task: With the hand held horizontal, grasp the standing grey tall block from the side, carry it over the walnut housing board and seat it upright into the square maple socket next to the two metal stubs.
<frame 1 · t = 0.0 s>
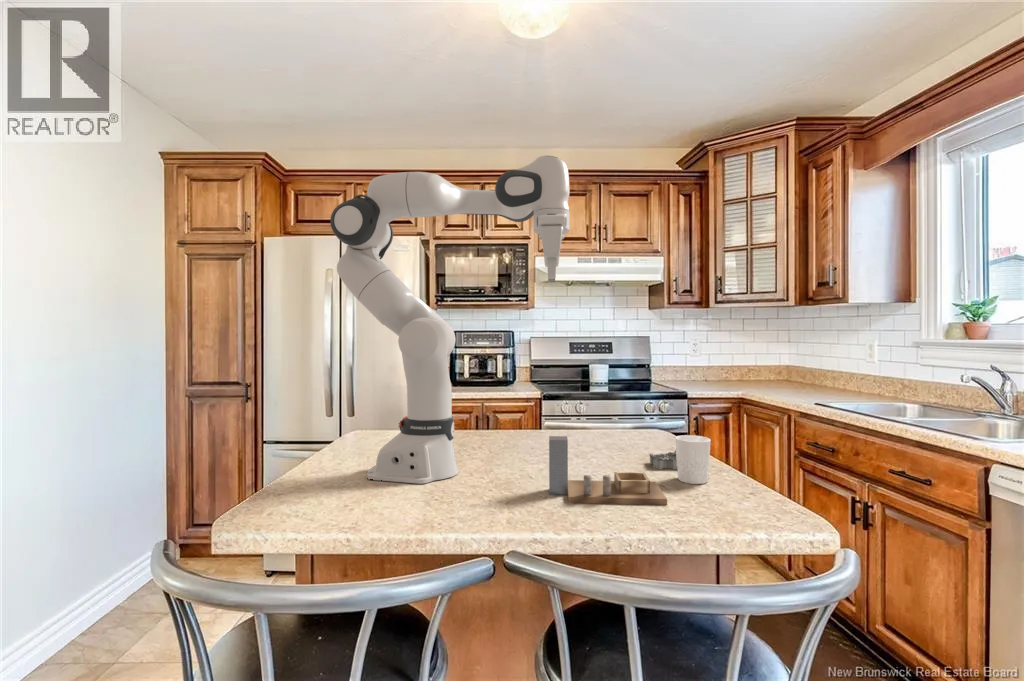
hand: (551, 281, 125), 48 cm above the countertop, tool pointing down, fingers open, 8 cm apart
white cup: (692, 481, 121), on the countertop
grey tall block: (558, 492, 112), on the countertop
housing: (613, 494, 110), on the countertop
egg carton: (671, 467, 134), on the countertop
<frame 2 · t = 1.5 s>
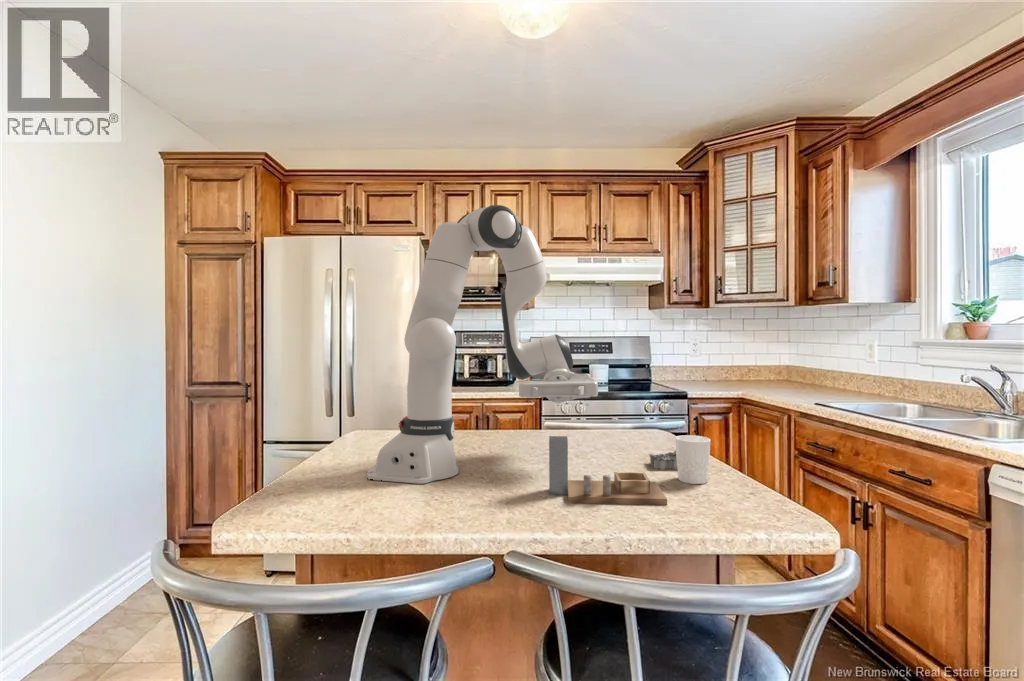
hand: (558, 392, 124), 21 cm above the countertop, tool horizontal, fingers open, 8 cm apart
nothing on the countertop moved.
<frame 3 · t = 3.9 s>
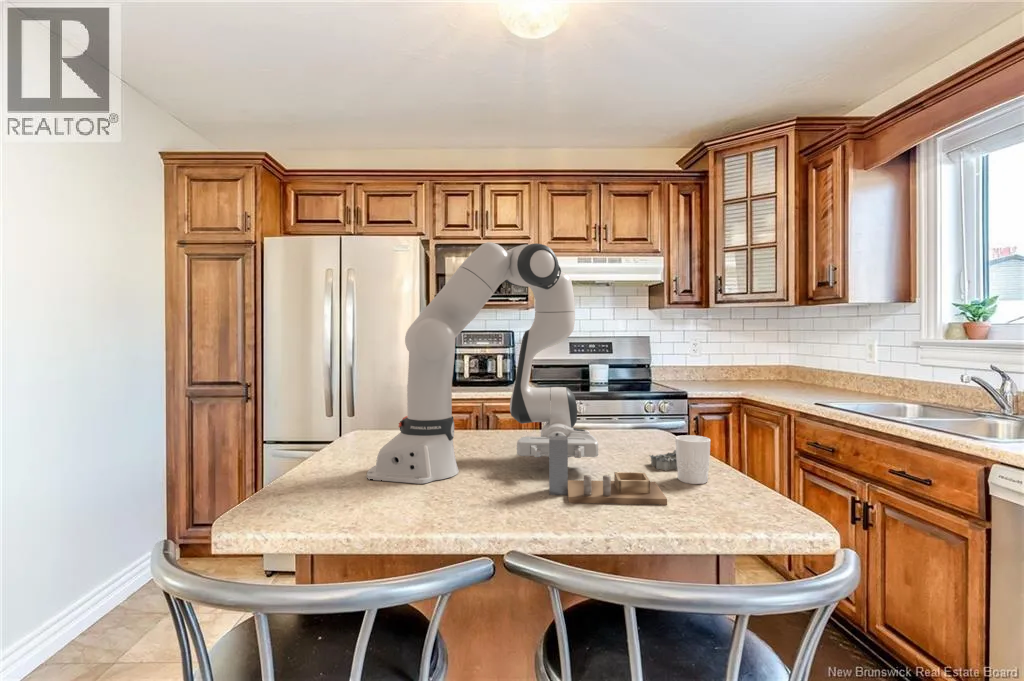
hand: (557, 454, 120), 6 cm above the countertop, tool horizontal, fingers open, 8 cm apart
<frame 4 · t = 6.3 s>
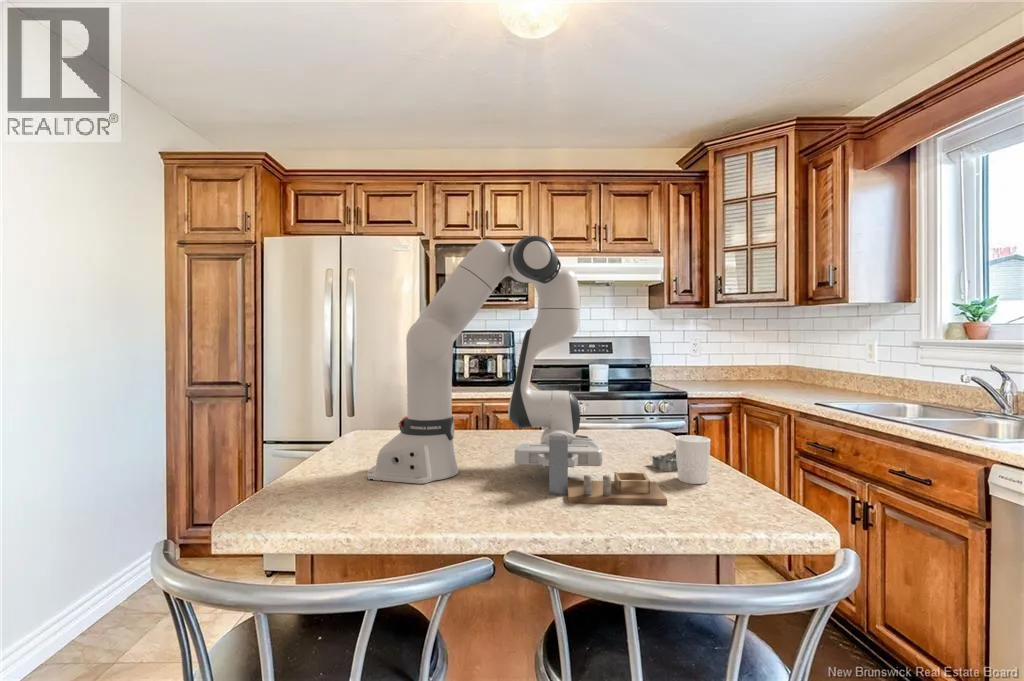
hand: (558, 463, 111), 7 cm above the countertop, tool horizontal, fingers closed on grey tall block, 4 cm apart
grey tall block: (558, 492, 112), on the countertop, touching gripper
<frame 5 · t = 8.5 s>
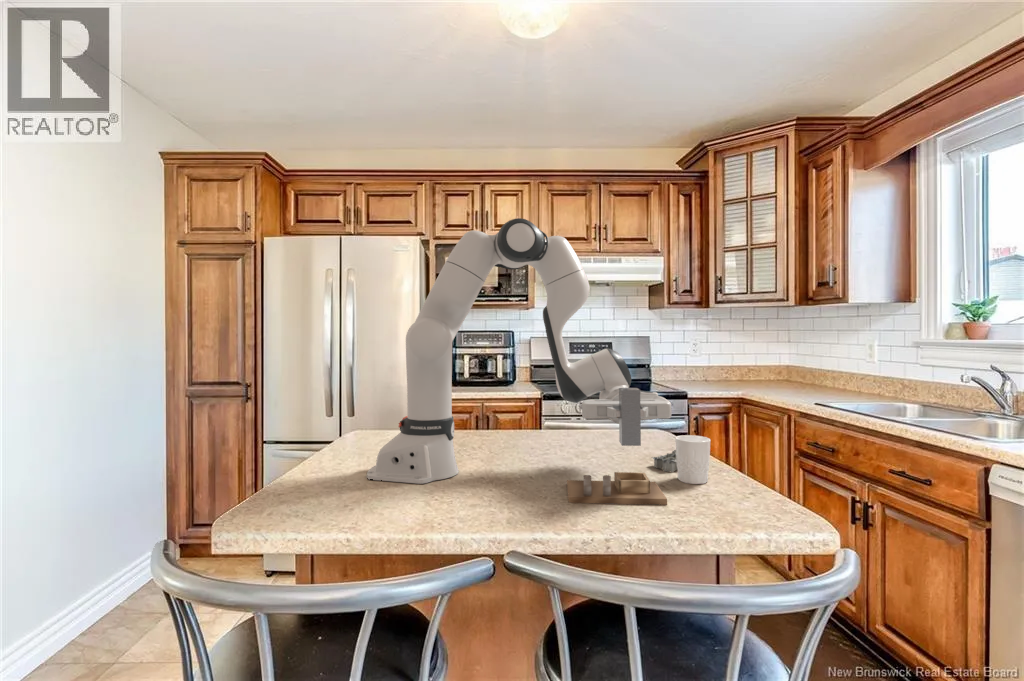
hand: (630, 414, 110), 17 cm above the countertop, tool horizontal, fingers closed on grey tall block, 4 cm apart
grey tall block: (629, 443, 111), point 11 cm above the countertop, touching gripper
when the fingers open (9 cm above the countertop, at t = 10.9 s): grey tall block stays where it is, resting on housing.
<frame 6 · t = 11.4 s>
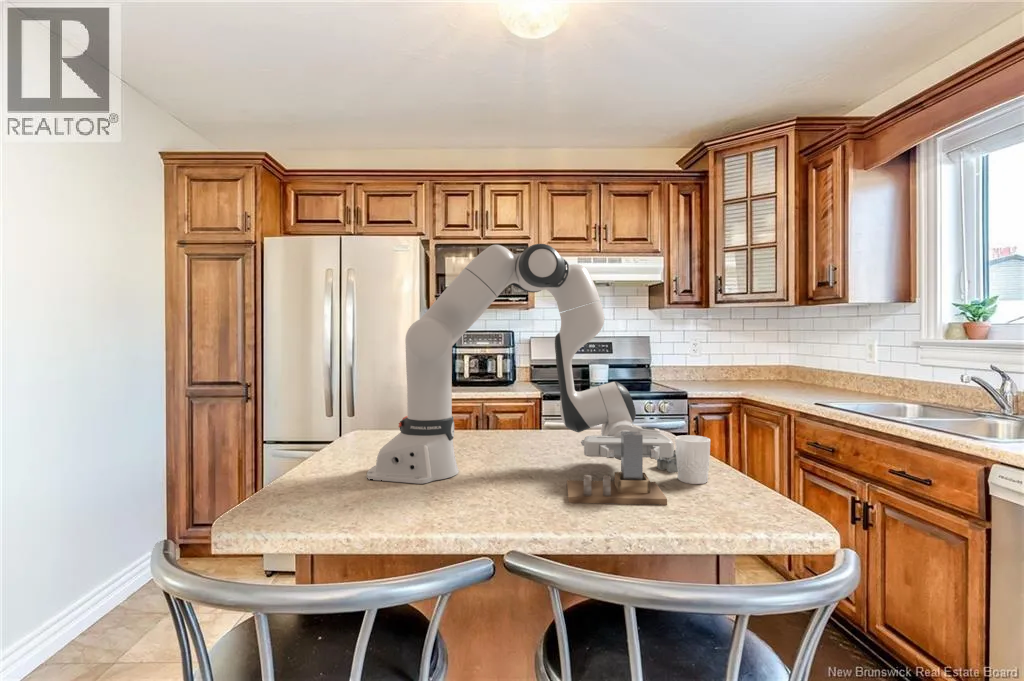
hand: (632, 454, 110), 9 cm above the countertop, tool horizontal, fingers open, 8 cm apart
grey tall block: (631, 487, 111), point 1 cm above the countertop, touching housing
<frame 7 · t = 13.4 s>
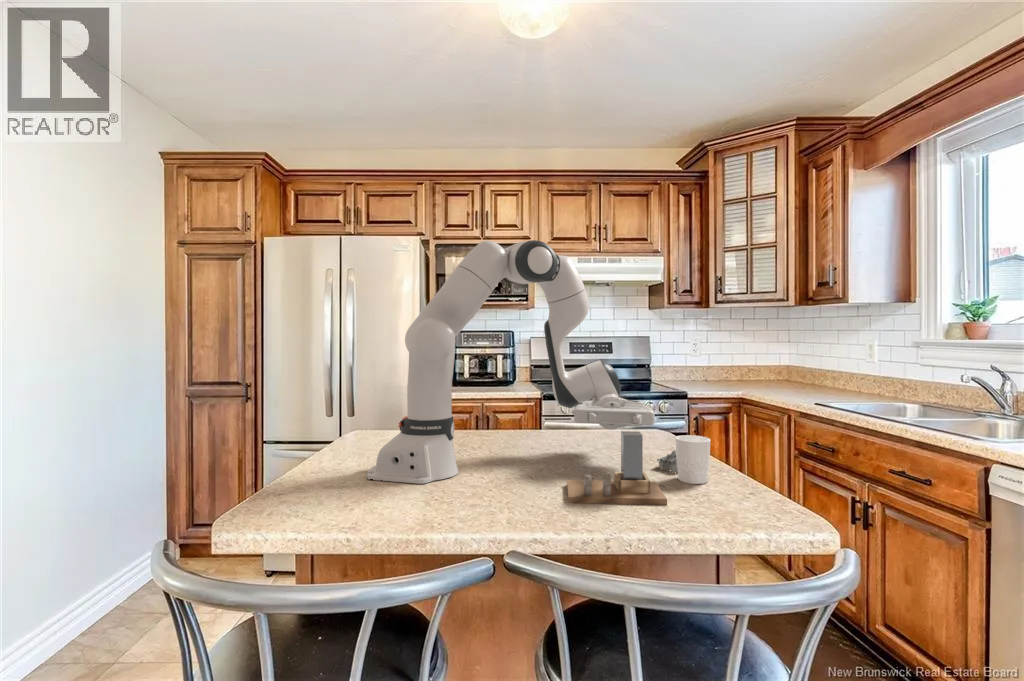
hand: (616, 420, 123), 14 cm above the countertop, tool horizontal, fingers open, 8 cm apart
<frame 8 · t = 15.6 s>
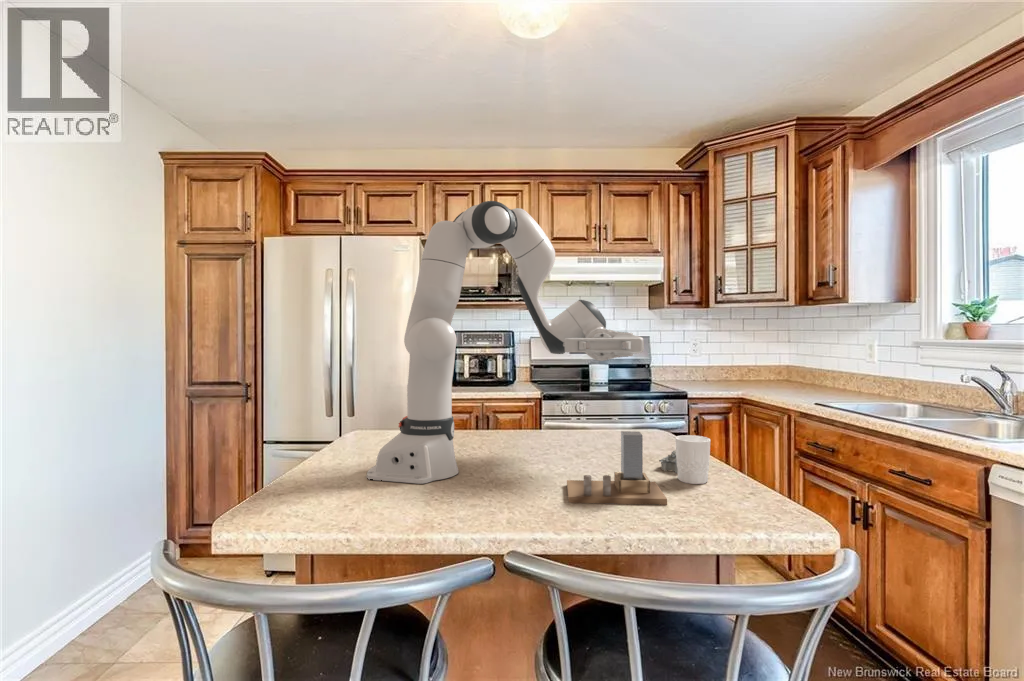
hand: (606, 345, 125), 32 cm above the countertop, tool horizontal, fingers open, 8 cm apart
at the end: grey tall block 0.0 cm from the target spot on the housing, point 1.2 cm above the housing's base; grey tall block tilted 0°; the gripper is holding nothing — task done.
